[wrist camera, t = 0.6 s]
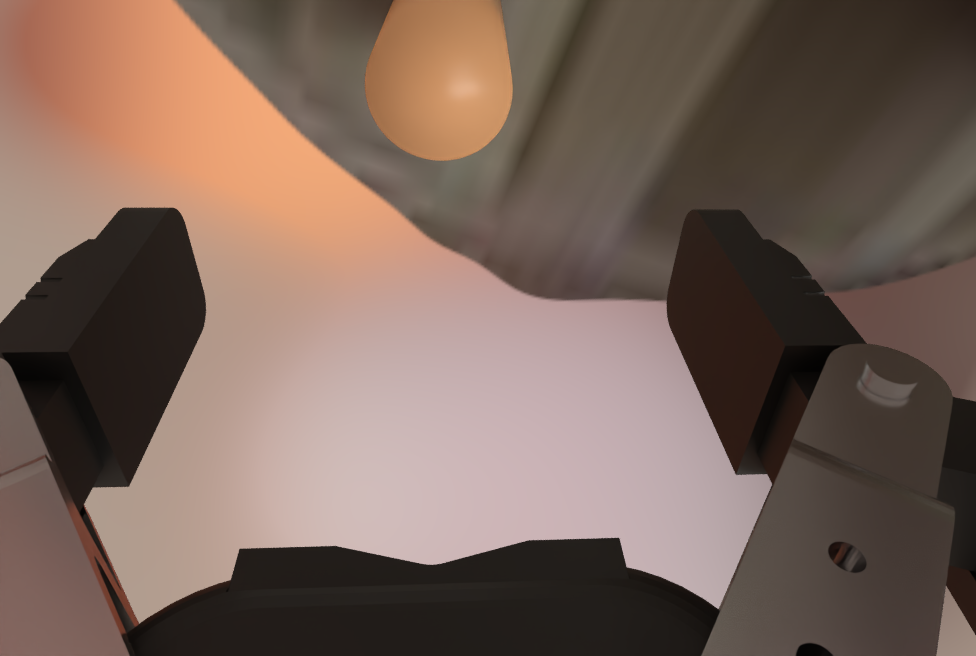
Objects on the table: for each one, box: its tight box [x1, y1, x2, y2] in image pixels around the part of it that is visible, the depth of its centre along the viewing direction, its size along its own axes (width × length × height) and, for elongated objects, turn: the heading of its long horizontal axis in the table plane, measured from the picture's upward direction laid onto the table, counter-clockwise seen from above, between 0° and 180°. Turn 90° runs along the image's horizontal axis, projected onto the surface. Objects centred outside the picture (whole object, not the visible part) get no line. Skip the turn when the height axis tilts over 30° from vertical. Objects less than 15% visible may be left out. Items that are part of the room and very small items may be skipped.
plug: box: [365, 0, 513, 161], centre depth 22 cm, size 4×4×10 cm
